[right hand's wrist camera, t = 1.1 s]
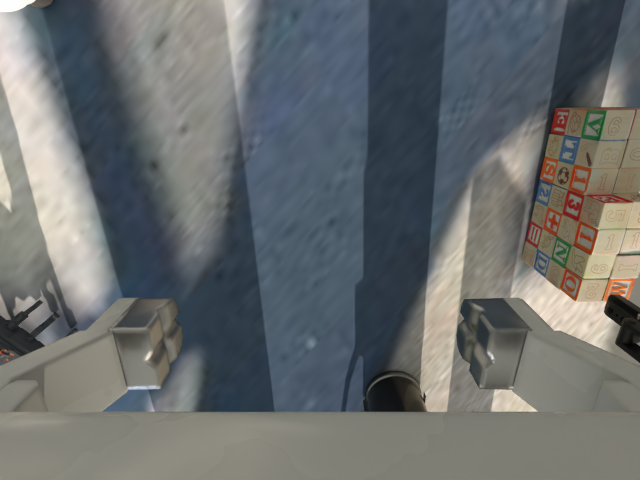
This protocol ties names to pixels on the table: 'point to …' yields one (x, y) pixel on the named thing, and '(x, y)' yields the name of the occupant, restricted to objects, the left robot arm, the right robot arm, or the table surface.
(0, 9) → the light bulb
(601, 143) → the stack of blocks
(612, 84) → the table surface
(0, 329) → the toy
